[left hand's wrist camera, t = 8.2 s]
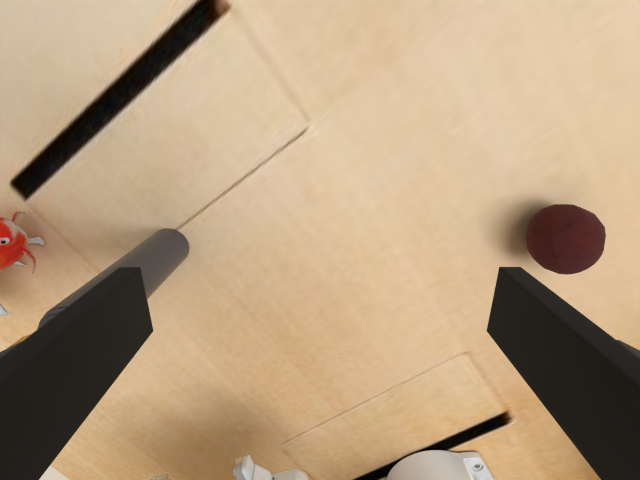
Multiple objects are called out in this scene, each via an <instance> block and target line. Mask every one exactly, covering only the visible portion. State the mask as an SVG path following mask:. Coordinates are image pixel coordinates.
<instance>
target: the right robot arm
mask: <svg viewBox="0 0 640 480" xmlns="http://www.w3.org/2000/svg"><path fill="white" fill-rule="evenodd" d="M234 462H235V465H234V466H233V475H234V477H236V480H308V477H307V475H306V473H304V472H303V471H301V470H298V469H291V470H287V471H282V472H278V473H273V474H271V473H270V471H268V470H266V469H264V468H262V467H260V466H258V465H256V464H254V463H253V461H252V459H251V457H250V455H246V456H242V457H238V458H236V459H235V461H234ZM151 480H170V479H169V478H168V475H167V474H165V475H161V476H155V477H153V478H152V479H151ZM386 480H495V479H494V477H493V476H492V474H491V472H490V471H489V469H488V467H487V466H486V464H485V462H484V460H483V459H482V457H481V455H480V454H479V453H478V452H462V453H455V452H450V451H444V450H428V451H422V452H418V453H415V454H412V455H410V456H408V457H406V458H404V459H402V460H401V461H399V462H398V463H397V464H396V465H395V466H394V467H393V468H392V469H391V471H390V472H389V474H388V476H387V479H386Z"/></svg>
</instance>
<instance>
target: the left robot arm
mask: <svg viewBox="0 0 640 480" xmlns="http://www.w3.org/2000/svg"><path fill="white" fill-rule="evenodd" d="M152 332H153V327H152V322H151V317H150V312H149V307H148V302H147V297H146V292H145V287H144V282H143V277H142V272H141V267H119V268H118V269H116V270H115V271H114V272H113V273H111V274H110V275H109V276H107V277H106V278H105V279H103V280H102V281H101V282H99V283H98V284H97V285H95V286H94V287H93V288H92V289H90V290H89V291H88V292H86V293H85V294H84V295H82V296H81V297H80V298H78V299H77V300H76V301H75V302H73V303H72V304H71V305H69V306H68V307H67V308H65V309H64V310H63V311H61V312H60V313H59V314H57V315H56V316H55V317H54V318H52V319H51V320H50V321H48V322H47V323H46V324H44V325H43V326H42V327H40V328H39V329H38V330H37V331H35V332H34V333H33V334H31V335H30V336H29V337H27V338H26V339H25V340H23V341H21V342H19V343H17V344H15V345H13V346H11V347H9V348H8V349H6V350H4V351H2V352H0V480H39V479H40V477H41V476H42V475H43V473H44V472H45V471H46V470H47V468H48V467H49V466H50V464H51V463H52V462H53V461H54V459H55V458H56V457H57V455H58V454H59V453H60V451H61V450H62V449H63V448H64V446H65V445H66V444H67V442H68V441H69V440H70V438H71V437H72V436H73V435H74V433H75V432H76V431H77V429H78V428H79V427H80V425H81V424H82V423H83V422H84V420H85V419H86V418H87V416H88V415H89V414H90V412H91V411H92V410H93V409H94V407H95V406H96V405H97V403H98V402H99V401H100V399H101V398H102V397H103V396H104V394H105V393H106V392H107V390H108V389H109V388H110V386H111V385H112V384H113V383H114V381H115V380H116V379H117V377H118V376H119V375H120V373H121V372H122V371H123V370H124V368H125V367H126V366H127V364H128V363H129V362H130V360H131V359H132V358H133V357H134V355H135V354H136V353H137V351H138V350H139V349H140V347H141V346H142V345H143V344H144V342H145V341H146V340H147V338H148V337H149V336H150V334H151V333H152ZM487 332H488V333H489V334H490V336H491V337H492V338H493V340H494V341H495V342H496V344H497V345H498V346H499V347H500V349H501V350H502V351H503V353H504V354H505V355H506V357H507V358H508V359H509V360H510V362H511V363H512V364H513V366H514V367H515V368H516V370H517V371H518V372H519V373H520V375H521V376H522V377H523V379H524V380H525V381H526V383H527V384H528V385H529V386H530V388H531V389H532V390H533V392H534V393H535V394H536V396H537V397H538V398H539V399H540V401H541V402H542V403H543V405H544V406H545V407H546V409H547V410H548V411H549V412H550V414H551V415H552V416H553V418H554V419H555V420H556V422H557V423H558V424H559V425H560V427H561V428H562V429H563V431H564V432H565V433H566V435H567V436H568V437H569V438H570V440H571V441H572V442H573V444H574V445H575V446H576V448H577V449H578V450H579V451H580V453H581V454H582V455H583V457H584V458H585V459H586V461H587V462H588V463H589V464H590V466H591V467H592V468H593V470H594V471H595V472H596V474H597V475H598V476H599V477H600V479H601V480H640V351H639V350H637V349H635V348H633V347H631V346H630V345H628V344H626V343H624V342H622V341H620V340H615V339H614V338H613V337H611V336H610V335H609V334H607V333H606V332H605V331H603V330H602V329H601V328H600V327H598V326H597V325H596V324H594V323H593V322H592V321H590V320H589V319H588V318H586V317H585V316H584V315H583V314H581V313H580V312H579V311H577V310H576V309H575V308H573V307H572V306H571V305H569V304H568V303H567V302H565V301H564V300H563V299H562V298H560V297H559V296H558V295H556V294H555V293H554V292H552V291H551V290H550V289H548V288H547V287H546V286H545V285H543V284H542V283H541V282H539V281H538V280H537V279H535V278H534V277H533V276H531V275H530V274H529V273H527V272H526V271H525V270H524V269H522V268H521V267H499V272H498V277H497V282H496V287H495V292H494V297H493V302H492V307H491V312H490V317H489V322H488V327H487Z"/></svg>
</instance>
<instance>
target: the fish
mask: <svg viewBox="0 0 640 480" xmlns="http://www.w3.org/2000/svg"><path fill="white" fill-rule="evenodd" d="M20 213H25V212H23V211H21V212H16V213H15V214H14V216H13V219H12V221H10V220H8V219H6V218H0V269H3V268H6V267H9V266H11V265H18V266H25V265H24V264H22V263H20V262H18V260H19V259H20V258H21V257H22V256H23V255H24V253H25V254H26V255H28V256H29V257H30V258H32V260H33V263H34V268H33V272H34V271H35V265H36V261H35V258H34V257H33V255H32V254H31V252H30V251H29V250H27V246H28V244H39V245H44V244H45V243H44V241H43V240H42V238H40V237H36V238H28V235H27V234H26V233H25V232H24V231H23V230H22V229H21V228H20V227H19V226H18V225H16V224H15V221H16V219H17V217H18V216H19V215H20ZM33 272H32V273H33ZM8 314H10V313H8V312H7V311H6V310H5V309H4V308H3V307H2V305H1V304H0V316H1V315H8Z"/></svg>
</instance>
